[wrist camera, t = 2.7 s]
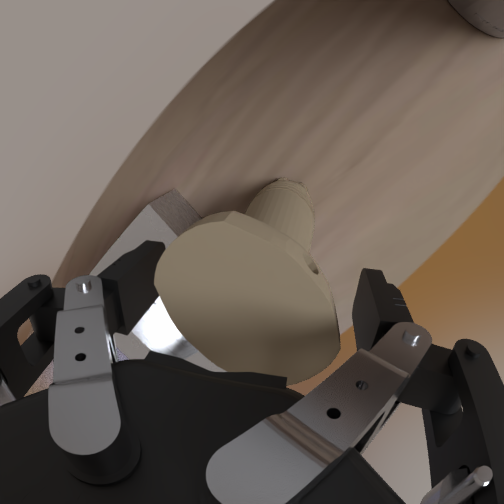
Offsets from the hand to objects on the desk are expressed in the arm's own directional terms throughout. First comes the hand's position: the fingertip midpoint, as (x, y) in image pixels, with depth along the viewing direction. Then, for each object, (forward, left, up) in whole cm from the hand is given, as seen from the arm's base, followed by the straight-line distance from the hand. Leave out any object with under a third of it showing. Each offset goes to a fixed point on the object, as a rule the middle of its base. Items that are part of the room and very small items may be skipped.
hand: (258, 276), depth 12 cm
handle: (0, 0, -12) cm, 12 cm away
